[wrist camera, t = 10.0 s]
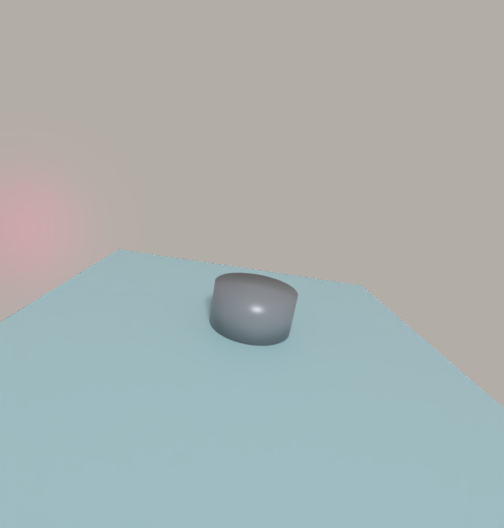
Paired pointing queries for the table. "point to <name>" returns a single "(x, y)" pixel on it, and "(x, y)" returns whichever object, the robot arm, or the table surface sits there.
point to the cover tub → (235, 407)
